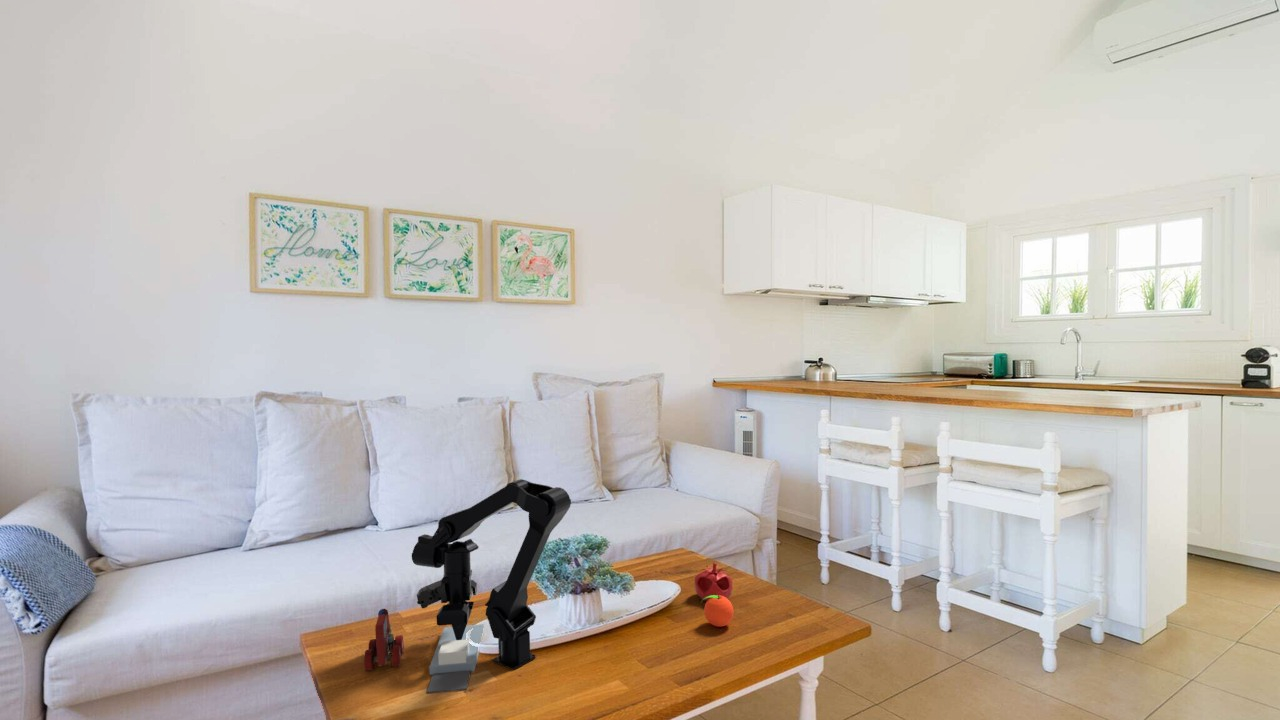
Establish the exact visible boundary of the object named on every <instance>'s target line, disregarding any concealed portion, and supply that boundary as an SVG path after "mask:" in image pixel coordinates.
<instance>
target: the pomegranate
mask: <svg viewBox="0 0 1280 720" xmlns="http://www.w3.org/2000/svg"><path fill="white" fill-rule="evenodd" d="M719 567H720V565H718V564H717V562H712V568H711V566H710V565H706V566H705V568H702V569H700V570H699V571H700V572H699V573H698V574H696V575H695V577H694V580H693V581H694V590H695V593H696V594H697V595H698V597H699V598H700V599H701V601H702V600H703V599H704V598H706V597H708V596H711V595H721V596H724V597H726V598H727V599H728V600H729V598H730V597H731V595H732V592H733V589H734V588H733V580H732V578H731V577H730V576H729V575H728V574H726V573H724V572H723V571H727V569H726V568H725V569H724V568H719ZM706 568H708V569H706ZM718 568H719V569H718ZM708 599H710V598H706V599H704V600H703V601H705V602H707V601H708Z"/></svg>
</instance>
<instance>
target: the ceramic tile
mask: <svg viewBox="0 0 1280 720" xmlns="http://www.w3.org/2000/svg"><path fill="white" fill-rule="evenodd" d="M468 654H469V639H467V640H455V641H443V642H442V645H441V648H440V650H439V653H438V658H439V665H446V664H457V663H466V661H467V658H468Z"/></svg>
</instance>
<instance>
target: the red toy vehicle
mask: <svg viewBox="0 0 1280 720" xmlns="http://www.w3.org/2000/svg"><path fill="white" fill-rule="evenodd" d="M377 615H378V617H377V619H376V623H375V627H374V628H375V629H374V630H375V638H374V639H370V640H369V642H368V649H366V650H365V652H364V659H363V661H364V665H363V666H364V671H372V670H373V669H374V667H375V662H376V663H377V666H378V667H381V666H382V667H383V666H386V665H387V663H388V660H391V665H392V667H393V668H394V667H395V668H396V667H399V666H400V665H401V659H402V655H403V654H404V649H405V648H404V645H405V644H404V636H403V635H402V634H401V635H400V634H399V635H396V636H395V637H394V634H393V633H392V631H393V627H392V625H391V623H390V616H389V611H388V609H386V608H381V609H380V610H378V614H377ZM389 653H390V654H389Z"/></svg>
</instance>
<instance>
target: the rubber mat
mask: <svg viewBox="0 0 1280 720" xmlns="http://www.w3.org/2000/svg"><path fill="white" fill-rule="evenodd" d="M471 673H472V671H471V670H469V671H458V672H447V673H436V674H433V675H431V679H430V682H429V684H428V687H427V690H426V694H434V693H445V692H455V691H466V690H467V689H468V685H469V681H470V676H471Z"/></svg>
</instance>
